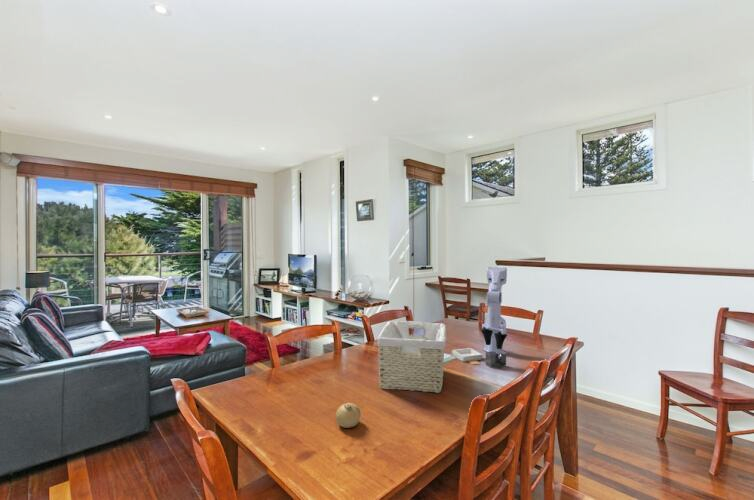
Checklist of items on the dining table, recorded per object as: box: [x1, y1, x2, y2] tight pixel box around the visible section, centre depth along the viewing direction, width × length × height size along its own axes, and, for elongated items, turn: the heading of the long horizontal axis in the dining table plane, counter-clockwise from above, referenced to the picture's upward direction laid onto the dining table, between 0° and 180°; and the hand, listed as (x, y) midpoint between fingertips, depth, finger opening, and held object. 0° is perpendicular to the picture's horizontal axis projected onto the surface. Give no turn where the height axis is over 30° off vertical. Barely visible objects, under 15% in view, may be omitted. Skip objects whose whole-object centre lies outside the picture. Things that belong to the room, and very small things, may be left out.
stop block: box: [485, 351, 499, 369], centre depth 163 cm, size 4×4×6 cm
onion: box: [335, 402, 361, 429], centre depth 112 cm, size 8×8×7 cm
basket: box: [377, 320, 447, 394], centre depth 147 cm, size 27×27×22 cm
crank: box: [498, 354, 507, 367], centre depth 165 cm, size 12×3×5 cm, turn 17°
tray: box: [451, 347, 484, 363], centre depth 174 cm, size 11×11×2 cm
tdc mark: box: [467, 360, 481, 366], centre depth 166 cm, size 4×4×1 cm
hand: (493, 346), depth 162 cm, fingers open, 7 cm apart
